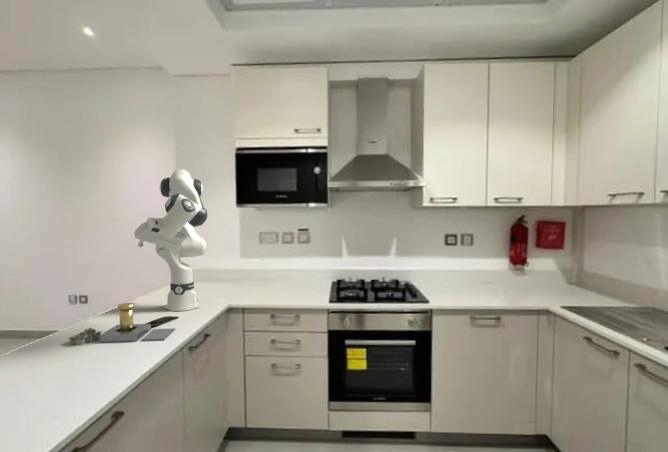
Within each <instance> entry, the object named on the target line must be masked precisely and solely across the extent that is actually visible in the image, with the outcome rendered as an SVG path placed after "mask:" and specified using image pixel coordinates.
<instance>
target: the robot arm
mask: <svg viewBox="0 0 668 452" xmlns="http://www.w3.org/2000/svg"><path fill="white" fill-rule="evenodd" d="M202 183H203V182H202V181H201V180H200V179H196V178H192V176H191V174H190V172H189V171H188V170H186V169H182V168H178V169H176V170H174V171H173V172H172V174H171V175H170V177H169V176H168V177H166V178H163V179H162V180H161V181H160V183H159V192H160V194H161V196H162V197H165V198H169V199H168V200H166V202H165V204H164V209H165V212H166V213H167V214H166V215H164V216H163V217H162V218H161V217H148V218H147V219H146V221H144V222H142V223H141V224H140V225H139V226H137V228H136V229H135V230H134V236H135V239H137V240H139V242H138V243H137V247H139V248H142V247H143V246H144V242H147V243H150V244H153V245H155V252H156V254H157V255H158V257H160V258H161V259H162V260H164V261H165V262H166V263H167V265H168V267H169V270H170V285H169V287H170V289H169V290H170V291H169V292H168V293H167V300H166V305H165V306H164V308H163V309H165V310H168V311H171V312H184V311H191V310H194V309H200V308H201V306H202V300H201V299H199V298H198V292H197V290H196V289H195V281H194V272H193V271H194V269H193V267H192V266H191V264H188V263H186V262H183V261H182V260H181V258H196V257H199V256H204V254H205V253H206V251H207V247H208V246H207V245H208V244H207V242H206V240H205V239H204V238H203V237H201V236H200V235H199V234H198V233H197V232H196V231H195V228H194V227H200V226H202V225H204V223H205V222H206V221H207V219H208V211H207V208H205V207H204V205H203V204H204V203H203V201H202V199H201V196H202V194H203V191H204V186H203V184H202Z"/></svg>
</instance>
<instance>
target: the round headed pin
mask: <svg viewBox="0 0 668 452" xmlns="http://www.w3.org/2000/svg"><path fill="white" fill-rule="evenodd" d="M135 305H136V304H135V302H124V303H123V302H122V303H120V304H118V305H117V309H118V310H119V325H120V332H126V331H133V330H134V329H133V324H134V308H135V307H136V306H135Z"/></svg>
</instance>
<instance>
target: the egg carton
mask: <svg viewBox="0 0 668 452" xmlns="http://www.w3.org/2000/svg"><path fill="white" fill-rule="evenodd" d="M101 334H102V331H101V330H96V329H95V328H92V327H88V328H86V329H84V330H83V331H82V332H79V333H78V334H75V335H72V336H70V337H67V339H68V340H69V345H75V346H80V345H81V346H83V345H85V344H87V343H92V342H94V340H100V335H101Z"/></svg>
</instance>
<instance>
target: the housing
mask: <svg viewBox="0 0 668 452" xmlns="http://www.w3.org/2000/svg"><path fill="white" fill-rule="evenodd" d="M133 329H134V330H133V331H126V332H120V324H116V325H114V326H113V327H111V328H110V329H108V330H107V331H104V332H102V333H101V335H100V339H99V340H100V343H122V342H123V343H124V342H126V343H127V342H138V341H139V340H141V339H142V338H144V337H145V336H146V335H147V334H149V333H150V332H151V331H152V327H151V324H145V323H135V324H134V323H133Z"/></svg>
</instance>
